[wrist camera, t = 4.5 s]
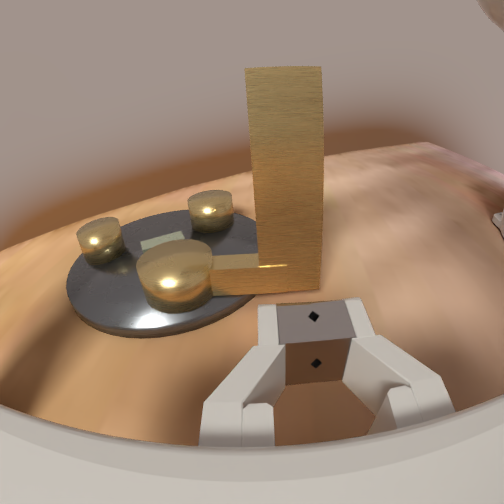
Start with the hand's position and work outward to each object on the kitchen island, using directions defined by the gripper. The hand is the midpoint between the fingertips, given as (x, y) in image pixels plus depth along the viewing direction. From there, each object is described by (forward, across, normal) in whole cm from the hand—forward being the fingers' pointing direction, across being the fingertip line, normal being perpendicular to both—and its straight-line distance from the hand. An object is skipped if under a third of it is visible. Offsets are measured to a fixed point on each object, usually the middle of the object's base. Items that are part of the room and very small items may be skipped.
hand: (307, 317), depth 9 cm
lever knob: (+13, +4, +8) cm, 16 cm away
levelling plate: (+20, +11, +10) cm, 25 cm away
